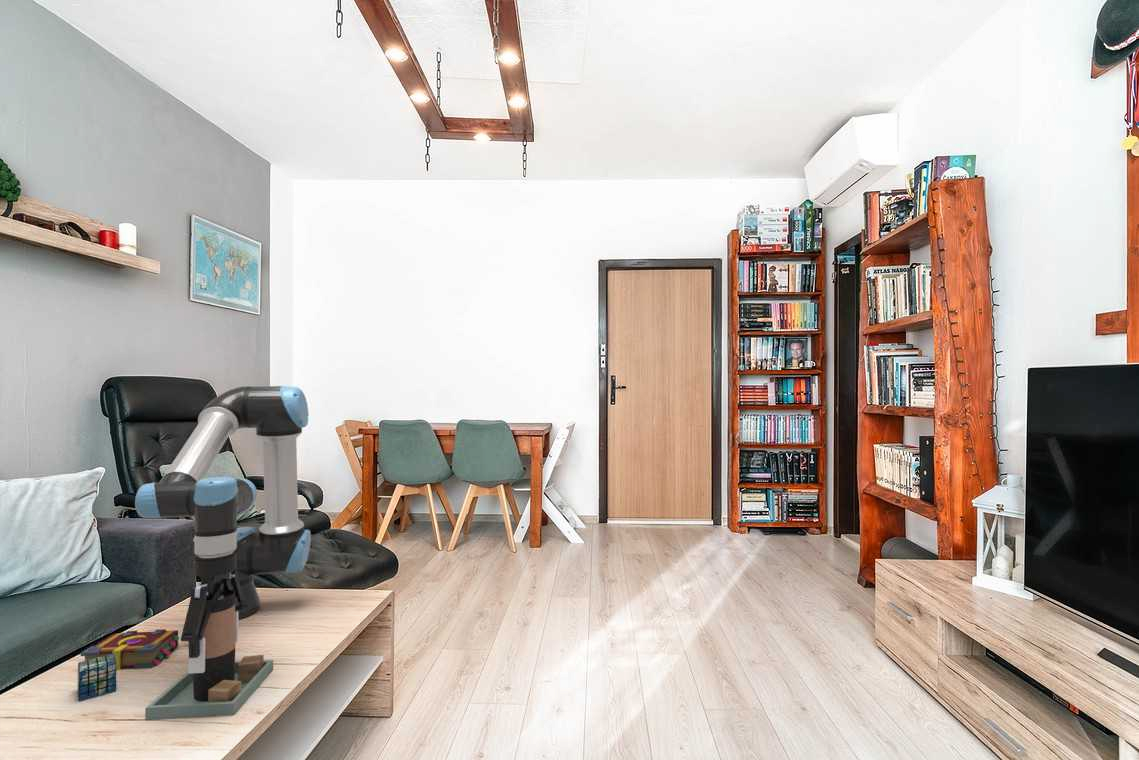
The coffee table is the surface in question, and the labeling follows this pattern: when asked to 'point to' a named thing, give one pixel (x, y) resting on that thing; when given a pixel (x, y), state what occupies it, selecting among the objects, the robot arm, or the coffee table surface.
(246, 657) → the walnut block
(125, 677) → the coffee table surface
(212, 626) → the travel mug
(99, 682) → the puzzle
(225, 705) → the tray
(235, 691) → the walnut block
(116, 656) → the decorative book
